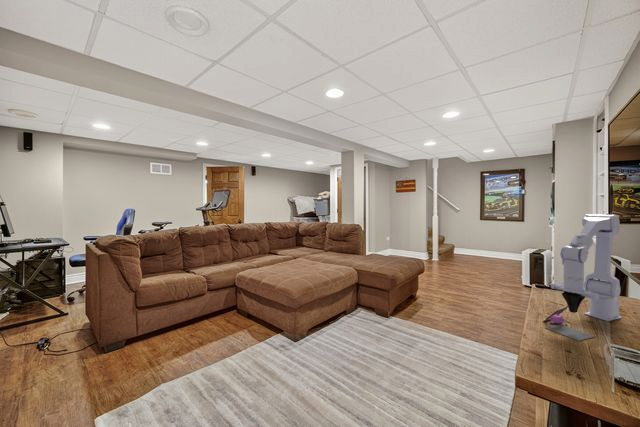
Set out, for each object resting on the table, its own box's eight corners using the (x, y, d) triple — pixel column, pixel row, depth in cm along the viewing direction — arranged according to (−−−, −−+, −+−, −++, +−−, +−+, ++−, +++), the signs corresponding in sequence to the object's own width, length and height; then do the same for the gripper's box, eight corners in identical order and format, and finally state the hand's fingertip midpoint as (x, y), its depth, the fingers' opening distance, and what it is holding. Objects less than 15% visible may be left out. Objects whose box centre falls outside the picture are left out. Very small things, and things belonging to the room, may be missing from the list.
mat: (560, 324, 109) (560, 323, 109) (595, 337, 99) (595, 336, 99) (544, 327, 107) (544, 327, 107) (578, 341, 96) (578, 340, 96)
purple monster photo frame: (554, 308, 108) (540, 320, 113) (567, 320, 104) (552, 332, 110) (565, 304, 110) (551, 316, 115) (578, 316, 106) (562, 327, 112)
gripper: (545, 273, 110) (545, 306, 111) (589, 283, 96) (589, 321, 97) (557, 272, 112) (557, 304, 113) (603, 281, 98) (602, 318, 99)
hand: (573, 311), depth 105 cm, fingers closed
